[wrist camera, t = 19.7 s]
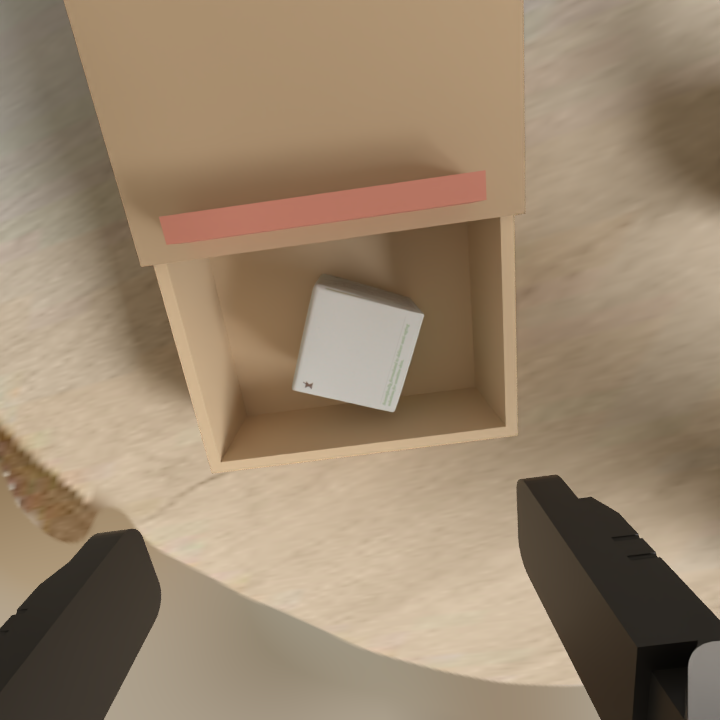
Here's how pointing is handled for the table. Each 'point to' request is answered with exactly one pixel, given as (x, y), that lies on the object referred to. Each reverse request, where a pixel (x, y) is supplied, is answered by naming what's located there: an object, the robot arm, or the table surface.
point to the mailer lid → (304, 117)
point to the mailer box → (285, 329)
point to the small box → (356, 343)
